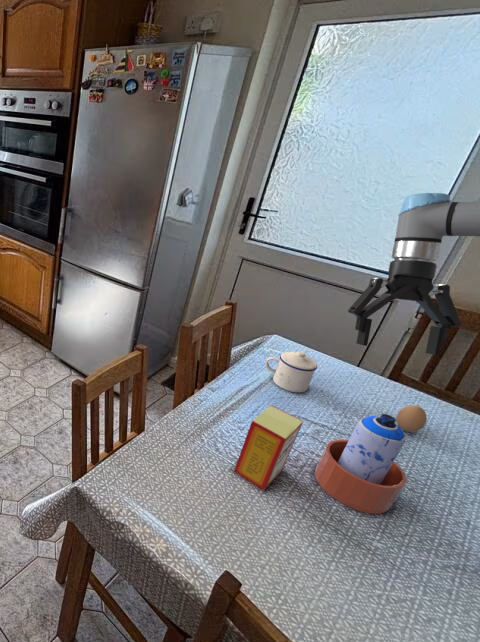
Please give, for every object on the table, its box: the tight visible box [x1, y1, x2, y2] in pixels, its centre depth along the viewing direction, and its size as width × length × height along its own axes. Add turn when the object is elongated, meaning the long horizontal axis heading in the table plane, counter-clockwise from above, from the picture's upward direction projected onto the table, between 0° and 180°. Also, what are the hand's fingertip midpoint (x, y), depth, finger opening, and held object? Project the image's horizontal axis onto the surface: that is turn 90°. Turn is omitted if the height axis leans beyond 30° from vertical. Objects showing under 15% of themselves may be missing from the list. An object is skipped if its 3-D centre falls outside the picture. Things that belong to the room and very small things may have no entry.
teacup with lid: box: [264, 350, 318, 394], centre depth 126 cm, size 12×9×12 cm
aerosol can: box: [338, 413, 407, 485], centre depth 89 cm, size 8×8×20 cm
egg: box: [395, 404, 428, 433], centre depth 108 cm, size 5×5×8 cm
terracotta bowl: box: [314, 439, 407, 515], centre depth 92 cm, size 13×13×8 cm
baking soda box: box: [233, 404, 304, 491], centre depth 95 cm, size 10×6×16 cm
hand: (396, 349), depth 98 cm, fingers open, 13 cm apart
